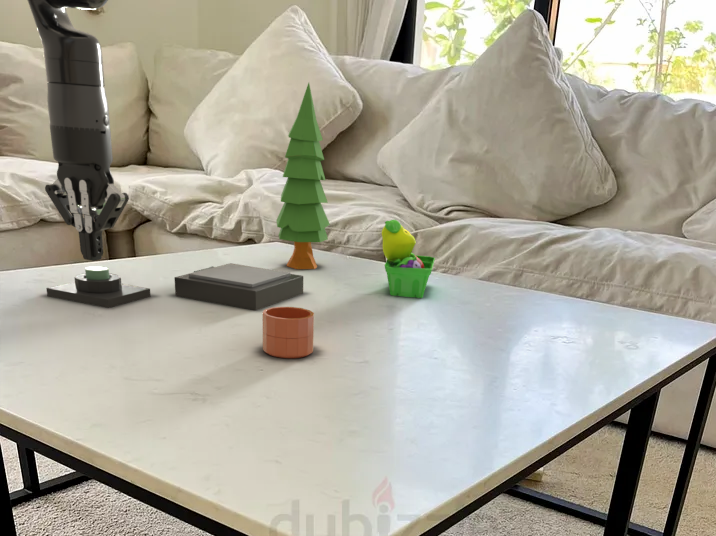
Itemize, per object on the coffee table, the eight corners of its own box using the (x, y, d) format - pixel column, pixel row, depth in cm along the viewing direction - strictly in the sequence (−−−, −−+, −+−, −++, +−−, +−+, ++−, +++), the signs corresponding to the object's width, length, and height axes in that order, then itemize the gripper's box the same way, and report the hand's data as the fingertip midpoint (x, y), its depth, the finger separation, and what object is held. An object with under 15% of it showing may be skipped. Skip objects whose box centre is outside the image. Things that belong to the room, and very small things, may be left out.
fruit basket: (429, 302, 125) (436, 227, 119) (374, 297, 125) (378, 223, 120) (432, 287, 135) (438, 218, 130) (381, 283, 135) (385, 214, 130)
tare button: (81, 279, 111) (80, 268, 111) (97, 276, 114) (96, 265, 113) (99, 282, 110) (97, 271, 110) (114, 279, 113) (113, 268, 112)
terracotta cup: (253, 355, 93) (252, 313, 91) (279, 344, 98) (279, 304, 96) (297, 364, 91) (297, 322, 89) (321, 352, 96) (322, 311, 94)
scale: (175, 297, 116) (173, 273, 115) (228, 282, 128) (227, 260, 126) (255, 312, 112) (255, 287, 110) (303, 295, 123) (303, 272, 122)
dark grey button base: (47, 297, 111) (44, 276, 110) (92, 287, 119) (89, 267, 117) (108, 309, 108) (106, 287, 106) (150, 298, 115) (149, 277, 114)
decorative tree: (330, 265, 147) (336, 83, 133) (324, 275, 138) (329, 82, 124) (279, 261, 147) (280, 79, 133) (269, 270, 138) (269, 78, 125)
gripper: (19, 119, 102) (36, 256, 110) (100, 127, 98) (112, 269, 106) (61, 120, 108) (75, 250, 116) (139, 128, 104) (148, 262, 112)
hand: (92, 259), depth 111 cm, fingers closed
